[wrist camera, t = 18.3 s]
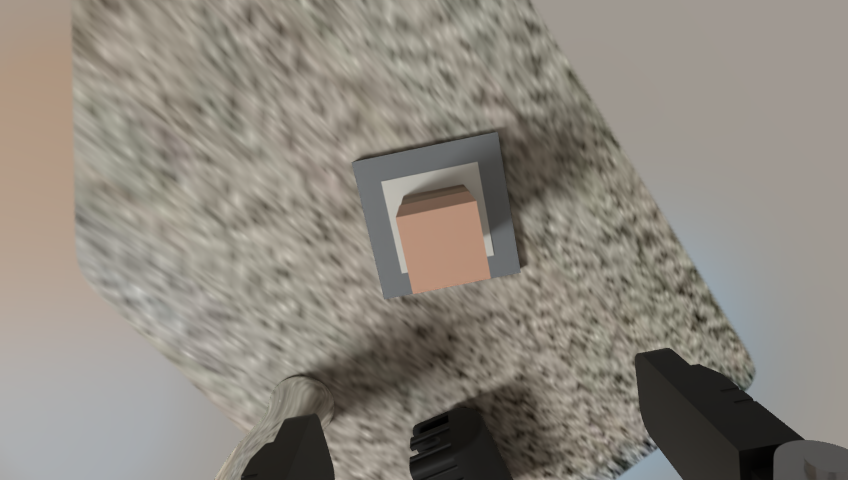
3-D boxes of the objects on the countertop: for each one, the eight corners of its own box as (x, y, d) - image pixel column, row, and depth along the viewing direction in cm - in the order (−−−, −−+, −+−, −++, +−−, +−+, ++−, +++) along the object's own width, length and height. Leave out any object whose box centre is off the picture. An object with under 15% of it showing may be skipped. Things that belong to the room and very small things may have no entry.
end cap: (517, 476, 45) (533, 534, 38) (451, 502, 45) (456, 564, 39) (476, 393, 43) (486, 440, 36) (408, 422, 43) (406, 473, 37)
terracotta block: (399, 205, 32) (395, 217, 27) (468, 190, 32) (476, 200, 27) (414, 270, 33) (413, 294, 29) (480, 257, 33) (490, 278, 28)
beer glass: (350, 386, 42) (312, 519, 28) (324, 446, 44) (275, 603, 29) (279, 360, 42) (202, 481, 27) (255, 422, 43) (170, 569, 28)
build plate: (353, 161, 38) (351, 162, 37) (495, 131, 37) (497, 131, 36) (385, 295, 40) (384, 299, 39) (518, 269, 40) (520, 272, 39)
